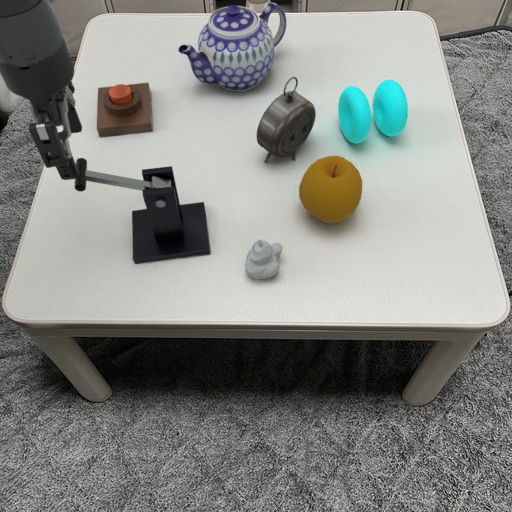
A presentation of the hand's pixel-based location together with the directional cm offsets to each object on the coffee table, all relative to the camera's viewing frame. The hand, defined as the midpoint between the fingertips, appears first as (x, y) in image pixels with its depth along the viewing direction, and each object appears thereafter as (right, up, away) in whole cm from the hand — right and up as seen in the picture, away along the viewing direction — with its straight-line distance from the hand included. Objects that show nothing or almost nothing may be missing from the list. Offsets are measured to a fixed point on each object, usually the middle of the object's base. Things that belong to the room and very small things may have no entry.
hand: (72, 153), depth 67 cm
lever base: (+10, -10, +17) cm, 22 cm away
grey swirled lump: (+25, -15, +13) cm, 32 cm away
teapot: (+20, +24, +40) cm, 51 cm away
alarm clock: (+29, +5, +27) cm, 40 cm away
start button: (-2, +17, +31) cm, 35 cm away
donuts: (+45, +10, +30) cm, 55 cm away
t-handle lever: (+5, -4, +7) cm, 9 cm away
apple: (+36, -7, +19) cm, 41 cm away
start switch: (-2, +15, +34) cm, 37 cm away
